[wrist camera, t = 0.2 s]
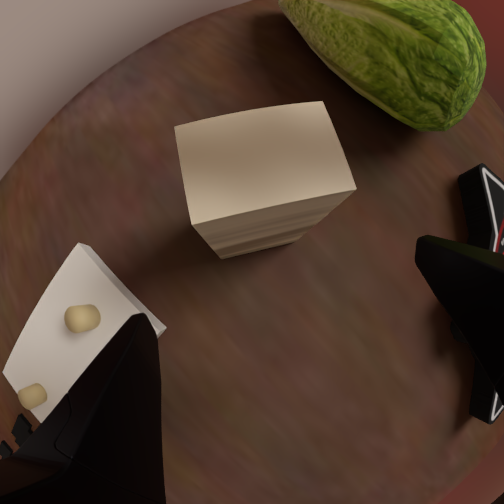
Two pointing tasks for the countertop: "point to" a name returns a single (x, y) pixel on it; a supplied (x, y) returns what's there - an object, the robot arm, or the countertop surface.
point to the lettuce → (398, 54)
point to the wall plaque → (490, 238)
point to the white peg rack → (69, 330)
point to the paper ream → (262, 175)
